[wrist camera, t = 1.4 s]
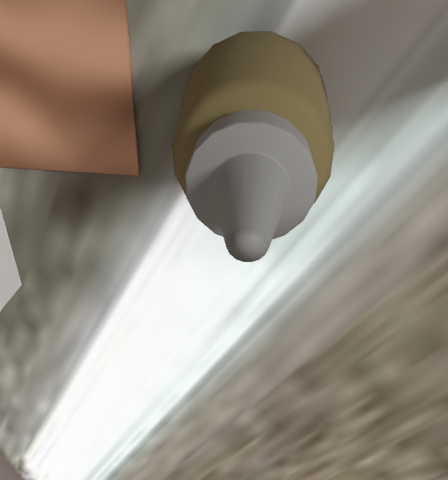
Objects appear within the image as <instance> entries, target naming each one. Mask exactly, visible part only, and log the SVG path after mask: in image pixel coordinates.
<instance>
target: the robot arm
mask: <svg viewBox="0 0 448 480" xmlns="http://www.w3.org/2000/svg"><path fill="white" fill-rule="evenodd" d="M21 285H22V284H21V281H20V277H19V274H18V270H17V266H16V263H15V259H14V256H13V252H12V248H11V245H10V241H9V237H8V234H7V230H6V227H5V223H4V219H3V216H2V212H1V209H0V311H1V310H2V308H3V307H4V306H5V305H6V304H7V302H8V301H9V300H10V299H11V297H12V296H13V295H14V294H15V293H16V291H17V290H18V289H19V288H20V286H21Z"/></svg>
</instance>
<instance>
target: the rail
mask: <svg viewBox="0 0 448 480" xmlns="http://www.w3.org/2000/svg"><path fill="white" fill-rule="evenodd" d="M0 167H9V168H24V169H40V170H56V171H71V172H87V173H102V174H118V175H134V176H139V174H140V172H139V160H138V147H137V134H136V122H135V109H134V96H133V84H132V71H131V58H130V46H129V33H128V20H127V8H126V0H0Z"/></svg>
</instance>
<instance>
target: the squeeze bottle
mask: <svg viewBox="0 0 448 480" xmlns="http://www.w3.org/2000/svg"><path fill="white" fill-rule="evenodd" d="M172 146H173V157H174V169H175V175H176V177H177V179H178V181H179V183H180V185H181V187H182V189H183V191H184V193H185V195H186V196H187V199H188V201H189V203H190V205H191V207H192V209H193V211H194V213H195V215H196V217H197V218H198V219H199V220H200V221H201V222H202V223H203V224H205V225H206V226H207V227H208V228H209V229H210V230H212V231H213V232H214V233H215V234H217V235H220V236H223V237H224V240H225V244H226V247H227V249H228V251H229V253H230V255H232V256H233V257H234V258H235V259H237V260H240V261H243V262H253V261H256V260H259V259H260V258H262V257H263V256H264V255H265V254H266V252H267V250H268V248H269V246H270V243H271V241H272V239H275V238H278V237H281V236H284V235H285V234H287V233H288V232H289V231H291V230H292V229H293V228H294V227H296V226H297V225H298V224H300V223H301V222H302V221H303V220H304V219H305V217H306V215H307V213H308V212H309V210H310V208H311V206H312V205H313V204H314V203H315V202H316V200H317V198H318V197H319V195H320V193H321V191H322V190H323V188H324V186H325V185H326V183H327V181H328V179H329V178H330V175H331V167H332V159H333V151H334V142H333V135H332V128H331V121H330V114H329V107H328V100H327V94H326V91H325V88H324V84H323V81H322V77H321V74H320V71H319V67H318V66H317V65H316V63H315V62H314V61H313V60H312V59H311V58H310V56H309V55H308V54H307V53H306V52H305V51H304V49H303V48H302V47H301V46H300V45H299V44H298V43H295V42H293V41H291V40H289V39H287V38H285V37H282V36H280V35H278V34H276V33H274V32H240V33H238V34H235V35H233V36H231V37H229V38H227V39H225V40H223V41H221V42H219V43H217V44H214V45H213V46H212V47H211V48H210V50H209V51H208V52H207V53H206V54H205V55H204V56H203V58H202V59H201V60H200V61H199V62H198V63H197V64H196V66H195V67H194V68H193V71H192V75H191V78H190V81H189V84H188V87H187V90H186V93H185V96H184V100H183V104H182V108H181V112H180V116H179V120H178V124H177V128H176V132H175V136H174V140H173V144H172Z"/></svg>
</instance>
